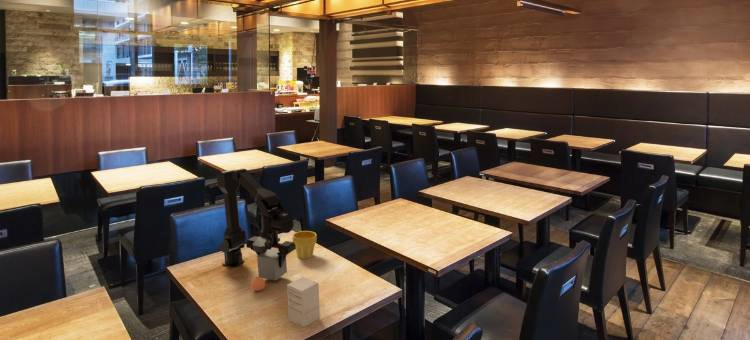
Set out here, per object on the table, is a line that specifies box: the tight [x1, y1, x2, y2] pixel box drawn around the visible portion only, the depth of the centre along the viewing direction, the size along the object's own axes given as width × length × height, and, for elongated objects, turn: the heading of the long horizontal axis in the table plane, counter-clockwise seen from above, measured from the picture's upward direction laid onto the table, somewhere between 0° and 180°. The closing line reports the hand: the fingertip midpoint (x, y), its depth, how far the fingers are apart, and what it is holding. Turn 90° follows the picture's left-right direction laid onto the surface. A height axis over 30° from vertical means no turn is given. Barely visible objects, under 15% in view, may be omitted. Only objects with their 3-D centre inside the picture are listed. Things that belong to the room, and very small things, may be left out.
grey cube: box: [256, 248, 288, 282], centre depth 177 cm, size 8×8×9 cm
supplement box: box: [286, 276, 321, 328], centre depth 148 cm, size 7×7×13 cm
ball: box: [250, 276, 266, 292], centre depth 169 cm, size 5×5×5 cm
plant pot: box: [292, 230, 318, 260], centre depth 200 cm, size 10×10×10 cm
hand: (271, 265), depth 177 cm, fingers closed on grey cube, 8 cm apart
